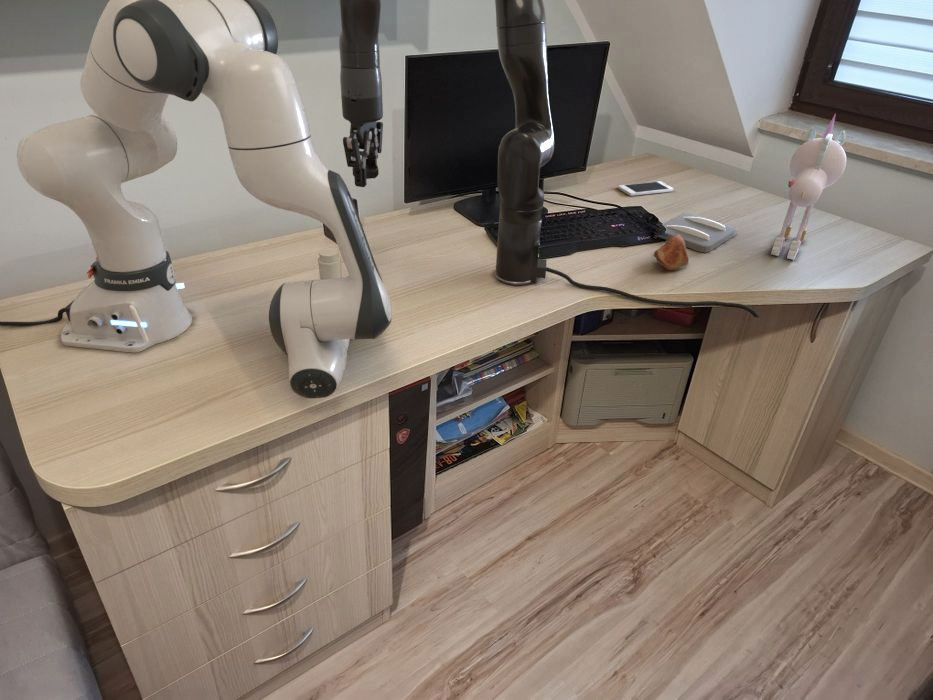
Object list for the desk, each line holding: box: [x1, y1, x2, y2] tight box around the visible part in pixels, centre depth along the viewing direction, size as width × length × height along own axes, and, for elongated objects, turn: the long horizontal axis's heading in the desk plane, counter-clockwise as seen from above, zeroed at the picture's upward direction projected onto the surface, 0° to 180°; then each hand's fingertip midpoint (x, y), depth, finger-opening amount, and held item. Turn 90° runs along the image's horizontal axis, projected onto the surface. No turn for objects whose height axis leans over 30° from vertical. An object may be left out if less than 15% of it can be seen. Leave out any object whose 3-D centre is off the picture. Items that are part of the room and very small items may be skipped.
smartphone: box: [617, 180, 674, 197], centre depth 196 cm, size 7×16×1 cm, turn 111°
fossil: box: [653, 234, 690, 271], centre depth 150 cm, size 13×8×10 cm
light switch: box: [654, 212, 737, 253], centre depth 167 cm, size 18×3×15 cm
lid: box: [352, 163, 380, 180], centre depth 126 cm, size 5×5×2 cm
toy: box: [770, 112, 847, 261], centre depth 159 cm, size 12×36×30 cm, turn 148°
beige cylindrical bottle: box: [317, 247, 344, 280], centre depth 121 cm, size 4×4×16 cm
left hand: (333, 292), depth 122 cm, fingers closed on beige cylindrical bottle, 4 cm apart
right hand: (366, 181), depth 127 cm, fingers closed on lid, 5 cm apart
